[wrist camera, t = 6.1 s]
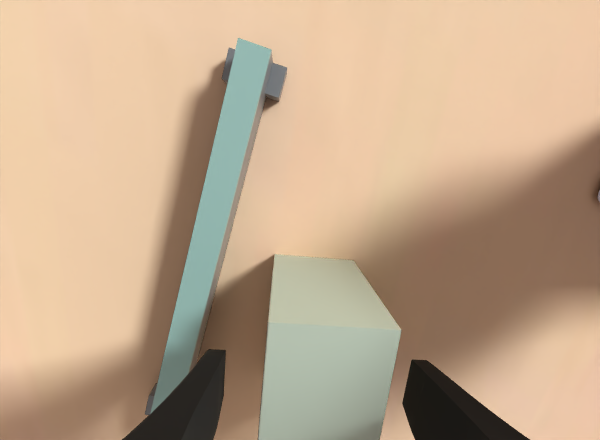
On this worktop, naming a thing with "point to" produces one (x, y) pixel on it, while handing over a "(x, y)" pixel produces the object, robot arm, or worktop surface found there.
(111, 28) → the worktop surface
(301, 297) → the soap box
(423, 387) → the robot arm
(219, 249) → the rail
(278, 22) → the worktop surface
